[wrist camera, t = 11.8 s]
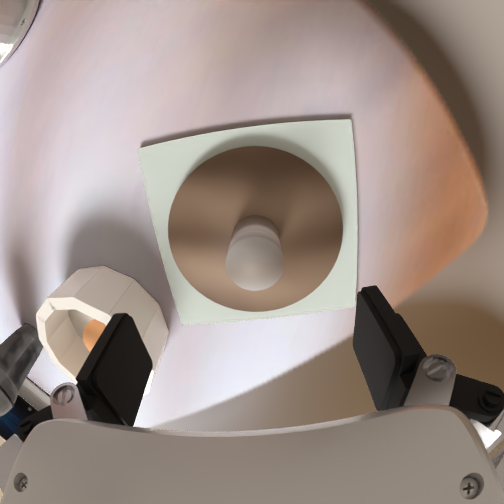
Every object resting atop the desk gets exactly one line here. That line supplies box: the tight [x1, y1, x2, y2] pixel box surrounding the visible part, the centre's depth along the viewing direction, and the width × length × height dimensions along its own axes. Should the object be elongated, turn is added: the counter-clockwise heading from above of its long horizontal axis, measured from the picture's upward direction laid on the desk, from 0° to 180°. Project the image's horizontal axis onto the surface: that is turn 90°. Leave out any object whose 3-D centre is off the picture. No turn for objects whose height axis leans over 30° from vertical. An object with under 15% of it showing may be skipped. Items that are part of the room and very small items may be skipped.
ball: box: [83, 319, 106, 352], centre depth 25 cm, size 4×4×4 cm
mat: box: [137, 119, 358, 325], centre depth 23 cm, size 17×17×1 cm
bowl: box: [36, 266, 169, 395], centre depth 25 cm, size 13×13×6 cm
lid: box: [168, 146, 343, 312], centre depth 20 cm, size 14×14×6 cm
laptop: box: [0, 377, 51, 441], centre depth 32 cm, size 18×12×13 cm
